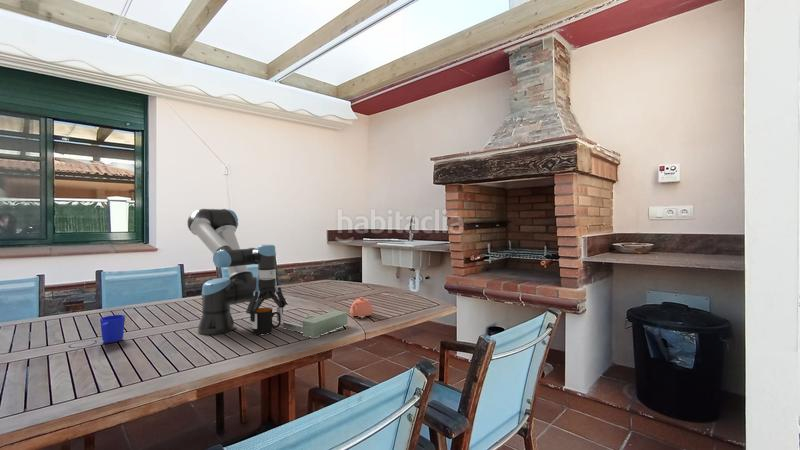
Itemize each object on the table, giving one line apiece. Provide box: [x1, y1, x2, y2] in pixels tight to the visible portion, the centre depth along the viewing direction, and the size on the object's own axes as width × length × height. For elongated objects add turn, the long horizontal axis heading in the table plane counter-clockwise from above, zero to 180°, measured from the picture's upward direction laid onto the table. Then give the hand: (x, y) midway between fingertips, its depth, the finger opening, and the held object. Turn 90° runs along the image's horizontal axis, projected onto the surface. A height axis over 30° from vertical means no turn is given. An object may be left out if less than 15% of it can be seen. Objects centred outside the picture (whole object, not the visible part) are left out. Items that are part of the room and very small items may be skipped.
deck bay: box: [282, 309, 348, 337], centre depth 174 cm, size 23×22×7 cm
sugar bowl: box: [349, 296, 374, 317], centre depth 195 cm, size 12×14×10 cm
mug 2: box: [252, 307, 282, 336], centre depth 167 cm, size 8×12×10 cm
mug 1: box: [99, 314, 126, 344], centre depth 152 cm, size 8×12×10 cm
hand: (267, 324), depth 167 cm, fingers open, 13 cm apart
